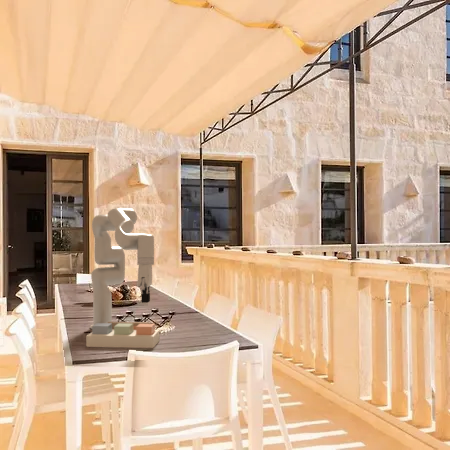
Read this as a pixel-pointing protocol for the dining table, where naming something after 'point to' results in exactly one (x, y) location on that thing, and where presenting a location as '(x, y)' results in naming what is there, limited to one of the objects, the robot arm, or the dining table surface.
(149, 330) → the key terracotta
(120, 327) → the key sage
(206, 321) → the dining table surface
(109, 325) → the key slate
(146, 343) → the keypad
